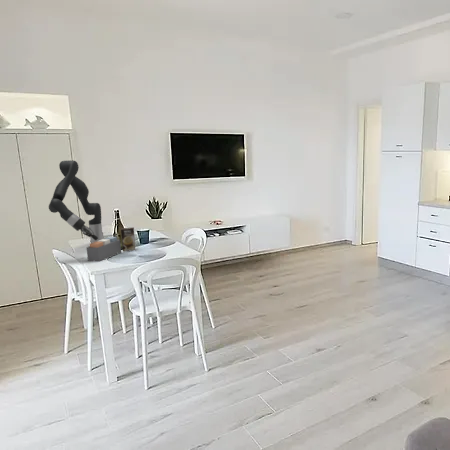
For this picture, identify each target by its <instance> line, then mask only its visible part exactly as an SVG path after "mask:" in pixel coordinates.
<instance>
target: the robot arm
mask: <svg viewBox="0 0 450 450" xmlns="http://www.w3.org/2000/svg"><path fill="white" fill-rule="evenodd" d="M58 166H59V170H60V172H61V174H62V175H63V176H64V178H62V180H60V181H59V182H58V183H57V185H56V186H55V189H54V191H53V195H52V198H51V199H50V202H49V204H48V209H49V211H50V212H51V213H54V214H55V213H59V216H60V218H61V219H62V220H64V221H65V222H66V223H67V224H68V225H69V226H71V227H72V228H73V229H75V230H76V231H78V232H79V231H81V233H82V234H83V235H84V236H86V237H89V239H90V243H93V242H97V241H99V240H102V239H105V238H104V232H103V225H102V207H101V204H100V203H98V202H90V201H88V200H89V199H88V196H89V193H90V191H89V188H88V186H87V185H86V183H85V182H84V181H83V180H82V179H80V178H79V177H77V176H76V175H77V173H79V172H78V171H79V163H78V162H77V161H76V160H62V161H60V163H59V165H58ZM70 186H71V188H72V190H73V191H74V193H75V195H76V196H77V198H78V199H79V202H80V204H81V206H82V208H83V210H84V212H85V214H86V215H87V216H93V218H92V219H89V220H88V226H87V225H85V224H86V221H84V220H83V219H82V218H81V217H80V216H79V215H77V214H76V213H74V212H72V210H70V209H69V208H68V206H67V205H66V204H65V203H64V202H63V201H64V199H65V197H66V195H67V192H68V189H69V187H70Z"/></svg>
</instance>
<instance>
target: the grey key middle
mask: <svg viewBox="0 0 450 450" xmlns="http://www.w3.org/2000/svg"><path fill="white" fill-rule="evenodd" d="M97 242H103V245H106V244H109V243H110V239H105V238H104V239H102V240H99V241H97Z"/></svg>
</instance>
